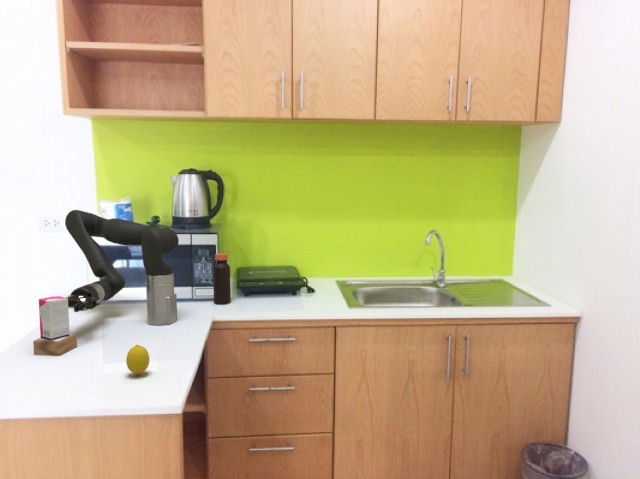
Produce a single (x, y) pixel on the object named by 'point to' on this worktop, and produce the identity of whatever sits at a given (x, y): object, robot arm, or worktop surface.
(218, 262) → the bottle
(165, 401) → the worktop surface
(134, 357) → the lemon
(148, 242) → the robot arm
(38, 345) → the wooden block
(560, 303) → the worktop surface
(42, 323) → the supplement box
